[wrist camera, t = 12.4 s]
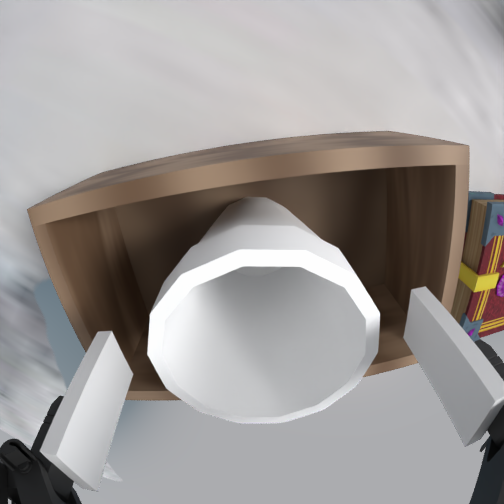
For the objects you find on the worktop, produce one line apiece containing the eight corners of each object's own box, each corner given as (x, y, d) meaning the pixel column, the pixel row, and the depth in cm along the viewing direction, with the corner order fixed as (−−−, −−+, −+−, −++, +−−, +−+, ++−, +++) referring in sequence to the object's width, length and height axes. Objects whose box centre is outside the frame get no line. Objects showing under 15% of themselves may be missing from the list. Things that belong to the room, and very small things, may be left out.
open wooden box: (145, 319, 28) (113, 399, 19) (100, 172, 22) (27, 209, 13) (388, 286, 27) (438, 356, 18) (389, 131, 21) (469, 145, 12)
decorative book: (527, 193, 23) (557, 207, 19) (497, 314, 30) (518, 336, 25) (462, 190, 23) (495, 205, 19) (433, 330, 30) (453, 358, 25)
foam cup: (337, 248, 24) (407, 361, 12) (245, 309, 26) (247, 442, 14) (266, 149, 21) (298, 188, 9) (168, 226, 23) (102, 335, 11)
